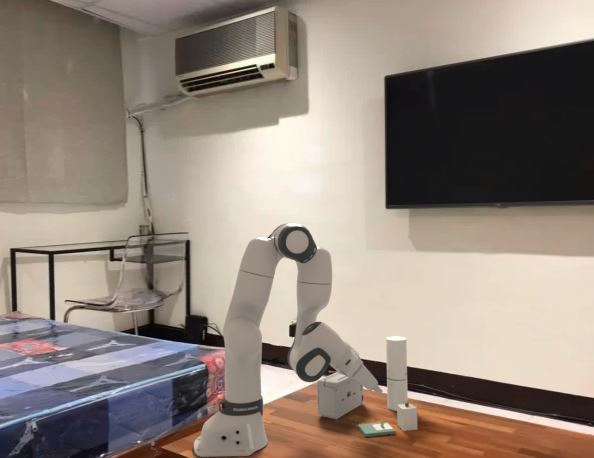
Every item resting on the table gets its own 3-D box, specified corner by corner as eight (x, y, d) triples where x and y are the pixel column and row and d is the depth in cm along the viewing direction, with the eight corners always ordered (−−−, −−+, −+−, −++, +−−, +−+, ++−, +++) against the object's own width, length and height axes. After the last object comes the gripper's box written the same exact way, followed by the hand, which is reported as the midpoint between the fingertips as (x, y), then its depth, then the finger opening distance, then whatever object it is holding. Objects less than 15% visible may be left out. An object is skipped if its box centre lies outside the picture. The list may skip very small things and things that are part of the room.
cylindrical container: (410, 406, 198) (409, 337, 198) (403, 412, 192) (401, 341, 192) (392, 403, 202) (390, 335, 202) (384, 408, 196) (382, 339, 196)
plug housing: (402, 431, 175) (402, 406, 175) (397, 425, 180) (396, 401, 179) (417, 429, 176) (416, 404, 176) (411, 424, 180) (411, 400, 180)
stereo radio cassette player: (347, 400, 206) (346, 347, 206) (366, 404, 201) (365, 350, 201) (316, 417, 189) (315, 359, 189) (337, 422, 185) (335, 363, 184)
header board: (365, 436, 171) (365, 426, 171) (357, 427, 179) (357, 417, 179) (395, 433, 173) (395, 423, 173) (387, 424, 181) (386, 414, 181)
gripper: (330, 359, 184) (359, 386, 185) (347, 376, 163) (379, 405, 165) (343, 345, 184) (371, 372, 186) (361, 360, 164) (393, 389, 166)
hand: (375, 388), depth 176 cm, fingers open, 8 cm apart
